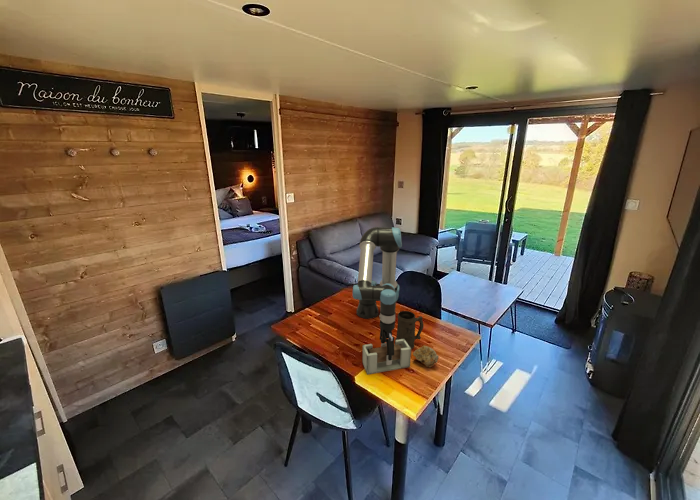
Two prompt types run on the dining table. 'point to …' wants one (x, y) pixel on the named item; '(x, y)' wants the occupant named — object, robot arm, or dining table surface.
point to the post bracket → (374, 367)
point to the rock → (426, 355)
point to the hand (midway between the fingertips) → (386, 359)
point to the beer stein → (408, 327)
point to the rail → (383, 351)
